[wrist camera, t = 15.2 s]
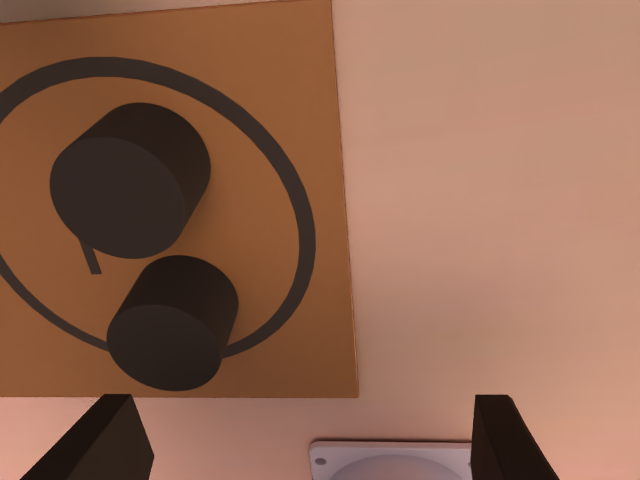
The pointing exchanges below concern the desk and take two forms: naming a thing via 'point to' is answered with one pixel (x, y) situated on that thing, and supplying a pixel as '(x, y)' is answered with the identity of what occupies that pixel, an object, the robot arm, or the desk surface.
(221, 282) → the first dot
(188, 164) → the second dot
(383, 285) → the desk surface
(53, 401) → the desk surface
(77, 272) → the drawing board
